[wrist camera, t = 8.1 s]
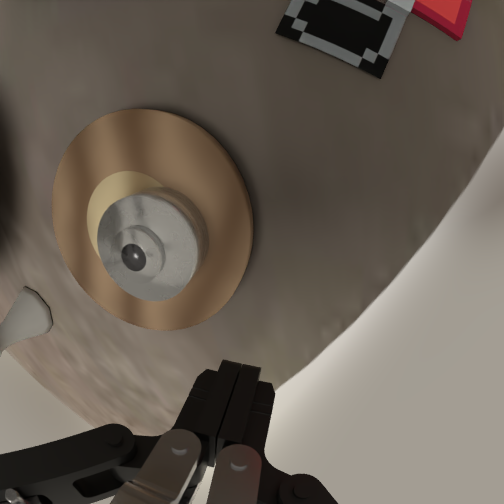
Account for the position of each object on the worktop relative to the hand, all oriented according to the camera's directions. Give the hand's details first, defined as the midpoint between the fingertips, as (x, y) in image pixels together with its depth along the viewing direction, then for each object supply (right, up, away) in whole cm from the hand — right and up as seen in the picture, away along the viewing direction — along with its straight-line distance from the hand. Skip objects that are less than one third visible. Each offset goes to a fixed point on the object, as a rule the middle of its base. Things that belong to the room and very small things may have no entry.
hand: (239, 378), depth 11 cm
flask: (-30, -3, +24) cm, 39 cm away
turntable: (-9, +8, +15) cm, 19 cm away
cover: (-7, +6, +13) cm, 16 cm away
